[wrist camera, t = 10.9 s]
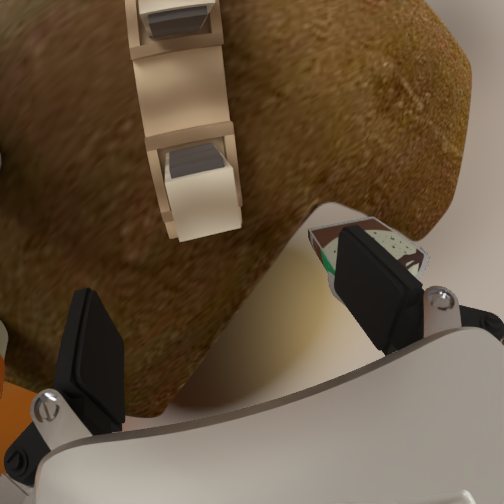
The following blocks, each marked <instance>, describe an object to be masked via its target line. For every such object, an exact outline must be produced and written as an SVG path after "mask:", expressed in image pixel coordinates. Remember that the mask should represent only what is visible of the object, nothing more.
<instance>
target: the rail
mask: <svg viewBox="0 0 504 504" xmlns="http://www.w3.org/2000/svg"><path fill="white" fill-rule="evenodd" d="M125 7H126V19H127V29H128V39H129V48H130V56H131V60H132V61H133V65H134V72H135V79H136V86H137V92H138V98H139V104H140V110H141V115H142V121H143V126H144V132H145V137H146V138H145V145H146V150H147V155H148V160H149V164H150V169H151V173H152V178H153V182H154V186H155V190H156V195H157V199H158V203H159V207H160V211H161V215H162V219H163V222H164V223H165V224H166V228H167V232H168V235H169V239H173V238H177V237H178V234H177V230H176V226H175V222H174V219H173V215H172V211H171V207H170V203H169V199H168V195H167V191H166V187H165V164H166V153H169V152H170V151H174V150H178V149H183V148H187V147H192V146H197V145H201V144H206V143H211V142H212V143H214V144H215V146H216V147H217V148H218V149H219V151H220V152H221V153H222V155H223V156H224V157H225V159H226V160H227V161H228V162H229V164H230V165H231V166H232V168H233V173H234V180H235V187H236V194H237V201H238V208H239V215H240V222H241V223H242V216H241V207H240V206H243V204H242V195H241V187H240V178H239V170H238V161H237V153H236V144H235V135H234V127H233V122H231V121H230V116H229V108H228V99H227V90H226V82H225V73H224V64H223V56H222V47H221V46H222V45H223V44H224V39H223V30H222V21H221V12H220V3H219V0H125Z"/></svg>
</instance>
